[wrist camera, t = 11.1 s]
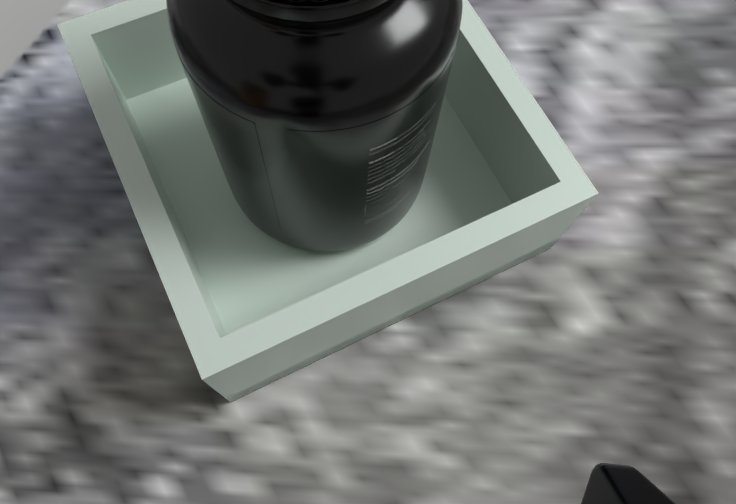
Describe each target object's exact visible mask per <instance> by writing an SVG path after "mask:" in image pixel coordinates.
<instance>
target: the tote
mask: <svg viewBox="0 0 736 504" xmlns="http://www.w3.org/2000/svg"><path fill="white" fill-rule="evenodd" d="M462 4H463V7H462V18H461V25H460V31H459V36H458V40H457V45H456V49H455V53H454V57H453V61H452V66H451V70H450V74H449V78H448V82H447V86H446V90H445V94H444V98H443V103H442V107H441V111H440V115H439V119H438V123H437V127H436V131H435V135H434V139H433V144H432V148H431V152H430V156H429V160H428V164H427V168H426V172H425V175H424V179H423V182H422V185H421V188H420V191H419V193H418V195H417V198H416V200H415V202H414V203H413V205H412V207H411V208H410V210H409V211H408V212H407V214H406V215H405V216H404V218H403V219H402V220H401V221H400V222H399V223H398V224H397V225H396V226H394V227H393V228H392V229H391V230H390V231H388V232H387V233H385V234H384V235H383V236H381V237H379V238H377V239H376V240H374V241H372V242H369V243H367V244H365V245H362V246H359V247H356V248H352V249H348V250H343V251H336V252H315V251H308V250H303V249H298V248H295V247H292V246H289V245H286V244H284V243H282V242H279V241H277V240H275V239H274V238H272V237H270V236H268V235H267V234H266V233H264V232H263V231H261V230H260V229H259V228H258V227H257V226H255V225H254V224H253V223H252V222H251V221H250V220H249V219H248V217H247V216H246V215H245V214H244V212H243V211H242V209H241V208H240V206H239V205H238V203H237V201H236V200H235V198H234V195H233V193H232V191H231V189H230V186H229V184H228V182H227V180H226V177H225V175H224V172H223V169H222V167H221V164H220V162H219V159H218V157H217V154H216V151H215V149H214V146H213V144H212V141H211V139H210V136H209V133H208V131H207V128H206V126H205V123H204V121H203V118H202V115H201V113H200V110H199V108H198V105H197V103H196V100H195V97H194V95H193V92H192V90H191V87H190V85H189V82H188V80H187V77H186V74H185V72H184V69H183V67H182V64H181V61H180V59H179V56H178V53H177V50H176V47H175V44H174V41H173V38H172V35H171V31H170V28H169V23H168V17H167V5H166V0H128V1H125V2H122V3H119V4H116V5H113V6H110V7H107V8H104V9H101V10H98V11H95V12H92V13H89V14H87V15H84V16H81V17H78V18H75V19H72V20H69V21H66V22H63V23H60V24H57V25H58V27H59V30H60V32H61V35H62V37H63V40H64V42H65V44H66V47H67V49H68V52H69V54H70V57H71V59H72V62H73V64H74V67H75V69H76V71H77V74H78V76H79V79H80V81H81V84H82V86H83V89H84V91H85V94H86V96H87V99H88V101H89V103H90V106H91V108H92V111H93V113H94V116H95V118H96V121H97V123H98V126H99V128H100V130H101V133H102V135H103V138H104V140H105V143H106V145H107V148H108V150H109V153H110V155H111V157H112V160H113V162H114V165H115V167H116V170H117V172H118V175H119V177H120V180H121V182H122V185H123V187H124V189H125V192H126V194H127V197H128V199H129V202H130V204H131V207H132V209H133V212H134V214H135V216H136V219H137V221H138V224H139V226H140V229H141V231H142V234H143V236H144V239H145V241H146V244H147V246H148V248H149V251H150V253H151V256H152V258H153V261H154V263H155V266H156V268H157V271H158V273H159V275H160V278H161V280H162V283H163V285H164V288H165V290H166V293H167V295H168V298H169V300H170V302H171V305H172V307H173V310H174V312H175V315H176V317H177V320H178V322H179V325H180V327H181V330H182V332H183V334H184V337H185V339H186V342H187V344H188V347H189V349H190V352H191V354H192V357H193V359H194V361H195V364H196V366H197V369H198V371H199V374H200V376H201V379H202V380H203V381H204V382H205V383H207V384H208V385H209V386H210V387H212V388H213V389H214V390H216V391H217V392H218V393H219V394H221V395H222V396H223V397H224V398H226V399H227V400H228V401H229V402H232V401H235V400H237V399H239V398H241V397H243V396H245V395H247V394H249V393H251V392H253V391H255V390H257V389H259V388H262V387H264V386H266V385H268V384H270V383H272V382H274V381H276V380H278V379H280V378H282V377H284V376H286V375H289V374H291V373H293V372H295V371H297V370H299V369H301V368H303V367H305V366H307V365H309V364H311V363H313V362H316V361H318V360H320V359H322V358H324V357H326V356H328V355H330V354H332V353H334V352H336V351H338V350H340V349H343V348H345V347H347V346H349V345H351V344H353V343H355V342H357V341H359V340H361V339H363V338H365V337H368V336H370V335H372V334H374V333H376V332H378V331H380V330H382V329H384V328H386V327H388V326H390V325H392V324H395V323H397V322H399V321H401V320H403V319H405V318H407V317H409V316H411V315H413V314H415V313H417V312H419V311H422V310H424V309H426V308H428V307H430V306H432V305H434V304H436V303H438V302H440V301H442V300H444V299H446V298H449V297H451V296H453V295H455V294H457V293H459V292H461V291H463V290H465V289H467V288H469V287H471V286H473V285H476V284H478V283H480V282H482V281H484V280H486V279H488V278H490V277H492V276H494V275H496V274H498V273H500V272H503V271H505V270H507V269H509V268H511V267H513V266H515V265H517V264H519V263H521V262H523V261H525V260H527V259H530V258H532V257H534V256H536V255H538V254H540V253H542V252H544V251H546V250H548V249H550V248H551V247H552V246H553V245H554V244H555V243H556V241H557V240H558V239H559V238H560V237H561V236H562V235H563V233H564V232H565V231H566V230H567V229H568V228H569V227H570V225H571V224H572V223H573V222H574V221H575V220H576V219H577V217H578V216H579V215H580V214H581V213H582V212H583V211H584V210H585V208H586V207H587V206H588V205H589V204H590V203H591V202H592V200H593V199H594V198H595V197H596V196H597V195H598V194H599V193H598V192H597V190H596V189H595V187H594V186H593V184H592V183H591V181H590V180H589V178H588V177H587V176H586V174H585V173H584V171H583V170H582V168H581V167H580V165H579V164H578V162H577V161H576V159H575V158H574V156H573V155H572V153H571V152H570V150H569V149H568V148H567V146H566V145H565V143H564V142H563V140H562V139H561V137H560V136H559V134H558V133H557V131H556V130H555V128H554V127H553V125H552V124H551V122H550V121H549V120H548V118H547V117H546V115H545V114H544V112H543V111H542V109H541V108H540V106H539V105H538V103H537V102H536V100H535V99H534V97H533V96H532V94H531V93H530V92H529V90H528V89H527V87H526V86H525V84H524V83H523V81H522V80H521V78H520V77H519V75H518V74H517V72H516V71H515V69H514V68H513V66H512V65H511V64H510V62H509V61H508V59H507V58H506V56H505V55H504V53H503V52H502V50H501V49H500V47H499V46H498V44H497V43H496V41H495V40H494V38H493V37H492V36H491V34H490V33H489V31H488V30H487V28H486V27H485V25H484V24H483V22H482V21H481V19H480V18H479V16H478V15H477V13H476V12H475V10H474V9H473V8H472V6H471V5H470V3H469V2H468V0H462Z"/></svg>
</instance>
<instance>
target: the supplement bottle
mask: <svg viewBox="0 0 736 504" xmlns="http://www.w3.org/2000/svg"><path fill="white" fill-rule="evenodd" d="M166 5H167V17H168V23H169V28H170V31H171V35H172V38H173V41H174V44H175V47H176V50H177V53H178V56H179V59H180V61H181V64H182V67H183V69H184V72H185V74H186V77H187V80H188V82H189V85H190V87H191V90H192V92H193V95H194V97H195V100H196V103H197V105H198V108H199V110H200V113H201V115H202V118H203V121H204V123H205V126H206V128H207V131H208V133H209V136H210V139H211V141H212V144H213V146H214V149H215V151H216V154H217V157H218V159H219V162H220V164H221V167H222V169H223V172H224V175H225V177H226V180H227V182H228V184H229V186H230V189H231V191H232V193H233V195H234V198H235V200H236V201H237V203H238V205H239V206H240V208H241V209H242V211H243V212H244V214H245V215H246V216H247V217H248V219H249V220H250V221H251V222H252V223H253V224H254V225H255V226H257V227H258V228H259V229H260V230H261V231H263V232H264V233H266V234H267V235H268V236H270V237H272V238H274V239H275V240H277V241H279V242H282V243H284V244H286V245H289V246H292V247H295V248H298V249H303V250H308V251H315V252H336V251H343V250H348V249H352V248H356V247H359V246H362V245H365V244H367V243H369V242H372V241H374V240H376V239H377V238H379V237H381V236H383V235H384V234H385V233H387V232H388V231H390V230H391V229H392V228H393V227H394V226H396V225H397V224H398V223H399V222H400V221H401V220H402V219H403V218H404V216H405V215H406V214H407V212H408V211H409V210H410V208H411V207H412V205H413V203H414V202H415V200H416V198H417V195H418V193H419V191H420V188H421V185H422V182H423V179H424V175H425V172H426V168H427V164H428V160H429V156H430V152H431V148H432V144H433V139H434V135H435V131H436V127H437V123H438V119H439V115H440V111H441V107H442V103H443V98H444V94H445V90H446V86H447V82H448V78H449V74H450V70H451V66H452V61H453V57H454V53H455V49H456V45H457V40H458V36H459V31H460V25H461V18H462V7H463V4H462V0H166Z"/></svg>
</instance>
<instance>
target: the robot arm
mask: <svg viewBox="0 0 736 504" xmlns="http://www.w3.org/2000/svg"><path fill="white" fill-rule="evenodd" d="M581 504H675V503H674V502H673V501H672V500H671V499H670V498H668V497H667V496H666V495H665V494H664V493H663V492H662V491H661V490H659V489H658V488H657V487H656V486H655V485H654V484H653V483H651V482H650V481H649V480H648V479H647V478H646V477H645V476H644V475H642V474H641V473H640V472H639V471H638V470H636V469H635V468H633V467H631V466H626V465H617V464H608V463H600V464H598V465H596V466H595V467H594V468H593V470H592V472H591V475H590V478H589V481H588V484H587V487H586V490H585V493H584V497H583V500H582V503H581Z"/></svg>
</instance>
